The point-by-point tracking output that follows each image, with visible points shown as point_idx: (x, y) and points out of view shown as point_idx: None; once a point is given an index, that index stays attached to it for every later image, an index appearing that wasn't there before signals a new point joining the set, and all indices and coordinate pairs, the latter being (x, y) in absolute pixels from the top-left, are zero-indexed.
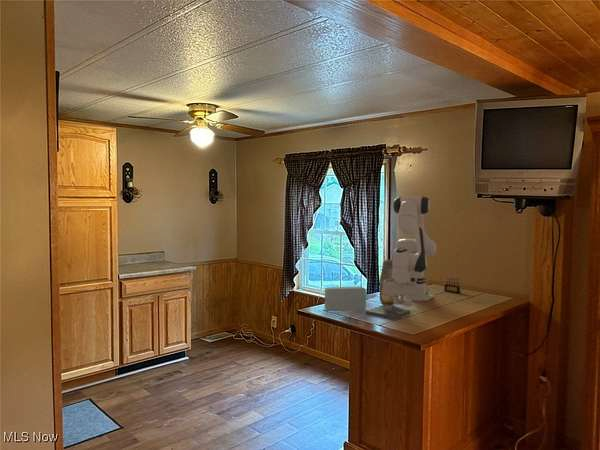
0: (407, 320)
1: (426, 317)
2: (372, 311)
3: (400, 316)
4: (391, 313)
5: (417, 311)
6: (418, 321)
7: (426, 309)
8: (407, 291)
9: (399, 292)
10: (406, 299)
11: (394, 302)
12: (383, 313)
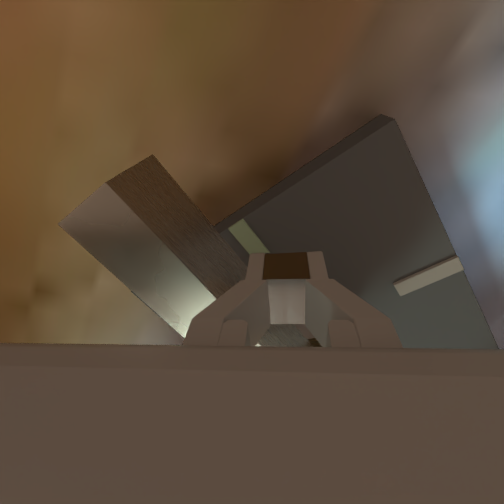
0: (244, 82)
1: (25, 153)
2: (465, 329)
3: (272, 191)
4: (344, 244)
5: (75, 313)
6: (135, 8)
7: (8, 335)
8: (13, 456)
9: (390, 450)
10: (149, 306)
11: (302, 343)
12: (420, 259)
